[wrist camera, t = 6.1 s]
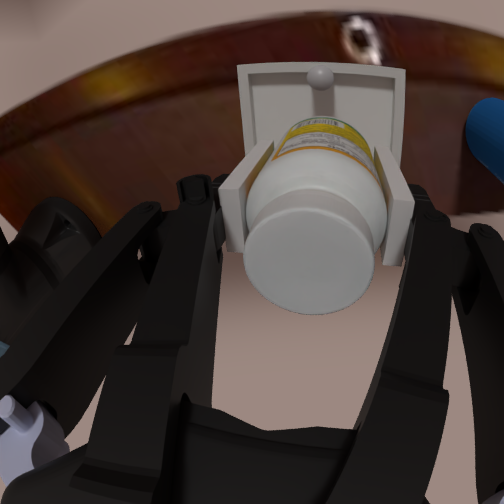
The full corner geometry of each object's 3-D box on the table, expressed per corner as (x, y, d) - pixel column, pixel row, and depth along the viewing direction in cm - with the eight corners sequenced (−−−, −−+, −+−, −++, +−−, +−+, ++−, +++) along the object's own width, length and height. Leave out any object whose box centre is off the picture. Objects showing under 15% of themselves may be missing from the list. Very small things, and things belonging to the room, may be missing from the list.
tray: (254, 179, 29) (239, 203, 25) (244, 64, 23) (224, 66, 19) (391, 187, 26) (401, 214, 22) (399, 68, 20) (415, 71, 16)
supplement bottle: (321, 94, 14) (304, 139, 7) (390, 163, 15) (433, 274, 8) (258, 161, 18) (190, 261, 10) (324, 219, 19) (307, 347, 11)
